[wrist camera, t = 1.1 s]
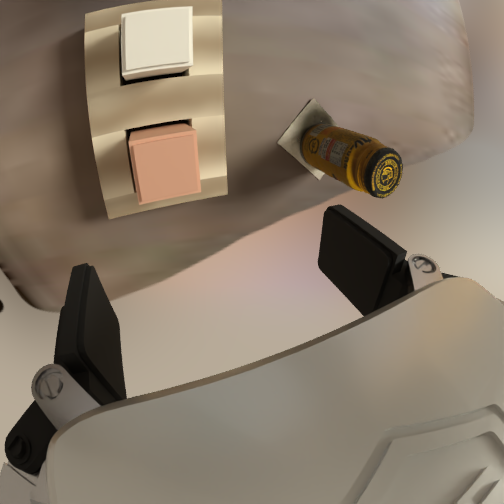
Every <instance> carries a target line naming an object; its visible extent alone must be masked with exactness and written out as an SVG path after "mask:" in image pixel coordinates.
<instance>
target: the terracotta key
mask: <svg viewBox="0 0 504 504" xmlns="http://www.w3.org/2000/svg"><path fill="white" fill-rule="evenodd" d="M129 148H130V155H131V162H132V168H133V174H134V180H135V185H136V191H137V196H138V201H139V205H141V204H145V203H150V202H154V201H159V200H164V199H169V198H174V197H179V196H184V195H189V194H194V193H199V192H201V183H200V171H199V159H198V146H197V132H196V130H195V129H194V128H192V127H190V126H188V125H187V124H185V123H180V124H173V125H167V126H161V127H155V128H150V129H144V130H139V131H134V132H131V134H130V138H129Z"/></svg>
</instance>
